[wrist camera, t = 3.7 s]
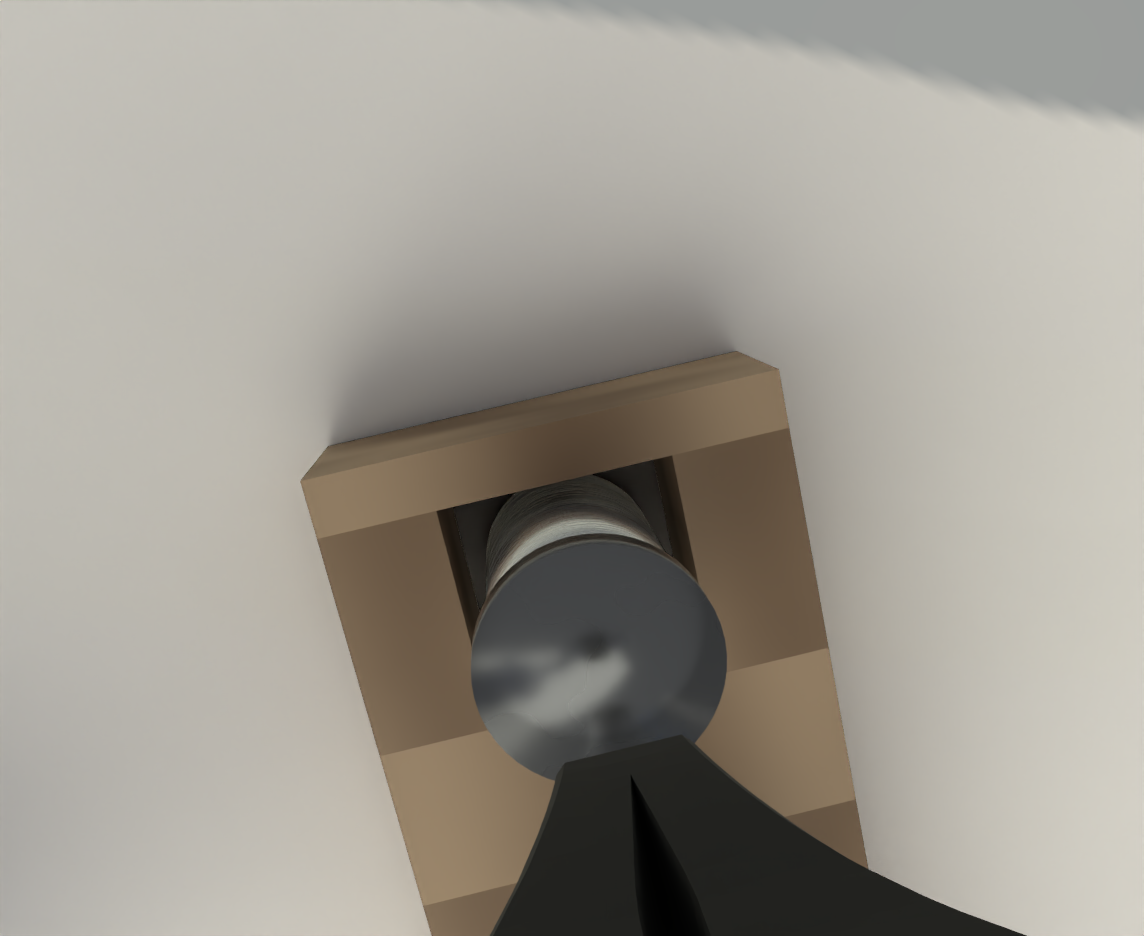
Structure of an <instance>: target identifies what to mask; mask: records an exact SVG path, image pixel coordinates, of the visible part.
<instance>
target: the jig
mask: <svg viewBox="0 0 1144 936" xmlns="http://www.w3.org/2000/svg"><path fill="white" fill-rule="evenodd" d="M650 460H653V462H654V466H655V471H656V476H657V481H658V485H659V490H660V495H661V500H662V504H663V509H664V514H665V519H666V523H667V528H668V533H669V538H670V542H671V547H672V552H673V557H674V558H675V559H676V560H677V561H678V562H680V563H681V564H682V565H683V566H684V567H685V568H686V569H687V570H688V571H689V572H690V573H691V575H692V576H693V577H694V578H695V579H696V581H697V582H698V583H699V585H700V587H701V588H702V590H703V591H704V593H705V595H706V596H707V598H708V600H709V601H710V603H711V604H712V606H713V608H714V609H715V612H716V614H717V616H718V619H719V621H720V623H721V626H722V630H723V634H724V637H725V643H726V651H727V673H726V680H725V686H724V690H723V693H722V697H721V700H720V703H719V705H718V707H717V710H716V712H715V714H714V716H713V718H712V720H711V721H710V723H709V725H708V726H707V728H706V729H705V731H704V732H703V733H702V735H701V736H700V737H699V738H698V740H697V741H696V742H695V744H696V745H697V746H698V747H699V748H700V749H701V750H702V751H703V752H704V753H705V754H706V755H707V756H709V757H710V758H711V759H712V760H713V761H714V762H715V763H716V764H717V765H719V766H720V767H721V768H722V769H723V770H724V771H726V772H727V773H728V774H729V775H730V776H732V777H733V778H734V779H735V780H736V781H738V782H739V783H740V784H741V785H742V786H744V787H745V788H746V789H748V790H749V791H750V792H751V793H753V794H754V795H755V796H757V797H758V798H759V799H761V800H762V801H763V802H765V803H766V804H767V805H769V806H770V807H772V808H773V809H774V810H776V811H777V812H778V813H780V814H781V815H783V816H784V817H785V818H787V819H788V820H789V821H791V822H792V823H794V824H795V825H797V826H798V827H800V828H801V829H803V830H804V831H806V832H807V833H809V834H810V835H811V836H813V837H814V838H816V839H818V840H819V841H821V842H822V843H824V844H826V845H827V846H829V847H831V848H832V849H834V850H835V851H837V852H839V853H840V854H842V855H844V856H845V857H847V858H848V859H850V860H852V861H854V862H856V863H858V864H859V865H861V866H863V867H865V868H867V869H868V865H867V860H866V854H865V849H864V843H863V837H862V832H861V826H860V821H859V815H858V810H857V804H856V798H855V793H854V787H853V782H852V776H851V771H850V765H849V759H848V754H847V748H846V743H845V737H844V731H843V726H842V720H841V715H840V709H839V704H838V698H837V692H836V687H835V681H834V676H833V670H832V665H831V659H830V653H829V648H828V642H827V637H826V631H825V625H824V620H823V614H822V609H821V603H820V598H819V592H818V586H817V581H816V575H815V570H814V564H813V559H812V553H811V547H810V542H809V536H808V531H807V525H806V520H805V514H804V508H803V503H802V497H801V492H800V486H799V480H798V475H797V469H796V464H795V458H794V453H793V447H792V441H791V436H790V430H789V425H788V419H787V414H786V408H785V402H784V397H783V391H782V386H781V380H780V375H779V369H777V368H774V367H772V366H770V365H767V364H765V363H763V362H760V361H758V360H756V359H754V358H751V357H749V356H747V355H744V354H742V353H740V352H737V351H735V352H731V353H727V354H722V355H718V356H714V357H709V358H705V359H701V360H696V361H692V362H688V363H684V364H679V365H675V366H671V367H666V368H662V369H658V370H654V371H649V372H645V373H641V374H636V375H632V376H628V377H624V378H619V379H615V380H611V381H606V382H602V383H598V384H594V385H589V386H585V387H581V388H576V389H572V390H568V391H564V392H559V393H555V394H551V395H546V396H542V397H538V398H534V399H529V400H525V401H521V402H516V403H512V404H508V405H503V406H499V407H495V408H491V409H486V410H482V411H478V412H473V413H469V414H465V415H461V416H456V417H452V418H448V419H443V420H439V421H435V422H431V423H426V424H422V425H418V426H413V427H409V428H405V429H401V430H396V431H392V432H388V433H383V434H379V435H375V436H371V437H366V438H362V439H358V440H353V441H349V442H345V443H341V444H336V445H332V446H328V447H327V448H326V450H325V451H324V452H323V453H322V455H321V456H320V457H319V458H318V460H317V461H316V462H315V463H314V465H313V466H312V467H311V468H310V470H309V471H308V472H307V473H306V475H305V476H304V477H303V478H302V480H301V481H300V482H301V485H302V489H303V492H304V496H305V499H306V502H307V506H308V509H309V513H310V516H311V520H312V523H313V527H314V530H315V534H316V537H317V541H318V544H319V547H320V551H321V554H322V558H323V561H324V565H325V568H326V572H327V575H328V579H329V582H330V585H331V589H332V592H333V596H334V599H335V603H336V606H337V610H338V613H339V617H340V620H341V623H342V627H343V630H344V634H345V637H346V641H347V644H348V648H349V651H350V655H351V658H352V662H353V665H354V668H355V672H356V675H357V679H358V682H359V686H360V689H361V693H362V696H363V700H364V703H365V706H366V710H367V713H368V717H369V720H370V724H371V727H372V731H373V734H374V738H375V741H376V745H377V748H378V751H379V755H380V758H381V762H382V765H383V769H384V772H385V776H386V779H387V783H388V786H389V789H390V793H391V796H392V800H393V803H394V807H395V810H396V814H397V817H398V821H399V824H400V828H401V831H402V834H403V838H404V841H405V845H406V848H407V852H408V855H409V859H410V862H411V866H412V869H413V872H414V876H415V879H416V883H417V886H418V890H419V893H420V897H421V900H422V904H423V907H424V910H425V914H426V917H427V921H428V924H429V928H430V931H431V935H432V936H490V934H491V932H492V930H493V929H494V927H495V925H496V923H497V921H498V919H499V917H500V915H501V913H502V911H503V909H504V908H505V906H506V904H507V902H508V900H509V898H510V896H511V894H512V892H513V890H514V888H515V886H516V884H517V882H518V880H519V877H520V875H521V873H522V870H523V868H524V866H525V863H526V861H527V859H528V856H529V854H530V852H531V849H532V847H533V845H534V842H535V840H536V838H537V835H538V832H539V830H540V827H541V824H542V822H543V819H544V816H545V813H546V810H547V807H548V804H549V801H550V798H551V795H552V791H553V788H554V784H555V781H554V780H551V779H547V778H545V777H543V776H541V775H538V774H536V773H534V772H532V771H530V770H529V769H527V768H526V767H524V766H522V765H521V764H519V763H518V762H517V761H515V760H514V759H513V758H512V757H511V756H509V755H508V754H507V753H506V752H505V751H504V750H503V749H502V748H501V747H500V746H499V744H498V743H497V742H496V741H495V740H494V738H493V737H492V735H491V734H490V733H489V731H488V730H487V728H486V726H485V724H484V722H483V720H482V718H481V716H480V714H479V711H478V708H477V705H476V703H475V700H474V695H473V689H472V684H471V651H472V640H473V633H474V629H475V625H476V621H477V618H478V616H479V613H480V611H479V607H478V603H477V599H476V595H475V592H474V588H473V584H472V580H471V576H470V572H469V568H468V564H467V560H466V557H465V553H464V549H463V545H462V541H461V537H460V533H459V529H458V525H457V522H456V518H455V514H454V510H453V507H455V506H459V505H463V504H468V503H472V502H476V501H480V500H485V499H489V498H493V497H497V496H502V495H506V494H510V493H514V492H519V491H523V490H527V489H531V488H536V487H540V486H544V485H548V484H553V483H557V482H561V481H565V480H570V479H574V478H578V477H582V476H586V475H591V474H595V473H599V472H603V471H608V470H612V469H616V468H620V467H625V466H629V465H633V464H637V463H642V462H646V461H650Z"/></svg>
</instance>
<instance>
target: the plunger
mask: <svg viewBox="0 0 1144 936" xmlns="http://www.w3.org/2000/svg"><path fill="white" fill-rule="evenodd" d="M726 673H727V651H726V643H725V637H724V634H723V630H722V626H721V623H720V621H719V619H718V616H717V614H716V612H715V609H714V608H713V606H712V604H711V603H710V601H709V600H708V598H707V596H706V595H705V593H704V591H703V590H702V588H701V587H700V585H699V583H698V582H697V581H696V579H695V578H694V577H693V576H692V575H691V573H690V572H689V571H688V570H687V569H686V568H685V567H684V566H683V565H682V564H681V563H680V562H678V561H677V560H676V559H675V558H673V557H672V556H670V555H669V554H668V553H666V552H665V551H664V549H663V548H662V546H661V544H660V542H659V541H658V539H657V537H656V535H655V534H654V532H653V530H652V528H651V527H650V525H649V523H648V521H647V520H646V518H645V516H644V514H643V513H642V511H641V510H640V508H639V506H638V505H637V504H636V503H635V501H634V500H633V499H632V498H631V497H630V496H629V495H628V494H627V493H626V492H625V491H624V490H622V489H621V488H619V487H618V486H616V485H615V484H613V483H611V482H609V481H607V480H606V479H603V478H600V477H597V476H594V475H586V476H582V477H578V478H574V479H570V480H565V481H561V482H557V483H553V484H548V485H544V486H540V487H536V488H531V489H527V490H523V491H519V492H516V493H515V494H513V495H512V496H511V497H510V498H509V500H508V501H507V502H506V503H505V504H504V505H503V507H502V508H501V509H500V511H499V512H498V514H497V516H496V518H495V520H494V521H493V524H492V527H491V529H490V532H489V536H488V541H487V550H486V600H485V602H484V604H483V605H482V608H481V610H480V613H479V616H478V618H477V621H476V625H475V629H474V633H473V640H472V651H471V684H472V689H473V695H474V700H475V703H476V705H477V708H478V711H479V714H480V716H481V718H482V720H483V722H484V724H485V726H486V728H487V730H488V731H489V733H490V734H491V735H492V737H493V738H494V740H495V741H496V742H497V743H498V744H499V746H500V747H501V748H502V749H503V750H504V751H505V752H506V753H507V754H508V755H509V756H511V757H512V758H513V759H514V760H515V761H517V762H518V763H519V764H521V765H522V766H524V767H526V768H527V769H529V770H530V771H532V772H534V773H536V774H538V775H541V776H543V777H545V778H547V779H551V780H554V781H555V779H556V775H557V774H558V772H559V771H560V769H561V768H562V766H563V765H564V763H566V762H570V761H574V760H579V759H583V758H587V757H591V756H595V755H599V754H603V753H607V752H611V751H615V750H619V749H624V748H628V747H632V746H636V745H640V744H644V743H648V742H652V741H656V740H660V739H664V738H669V737H673V736H677V735H681V734H682V735H683V736H685V737H686V738H688V739H689V740H691V741H692V742H694V743H695V742H696V741H697V740H698V738H699V737H700V736H701V735H702V733H703V732H704V731H705V729H706V728H707V726H708V725H709V723H710V721H711V720H712V718H713V716H714V714H715V712H716V710H717V707H718V705H719V703H720V700H721V697H722V693H723V690H724V686H725V680H726Z"/></svg>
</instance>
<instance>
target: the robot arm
mask: <svg viewBox="0 0 1144 936" xmlns="http://www.w3.org/2000/svg"><path fill="white" fill-rule="evenodd" d="M490 936H1026V935H1023V934H1021V933H1018V932H1015V931H1012V930H1010V929H1007V928H1004V927H1001V926H999V925H996V924H993V923H990V922H988V921H985V920H982V919H979V918H977V917H974V916H971V915H969V914H966V913H963V912H960V911H958V910H956V909H953V908H951V907H948V906H946V905H944V904H941V903H939V902H936V901H934V900H932V899H929V898H927V897H925V896H923V895H921V894H918V893H916V892H914V891H912V890H910V889H908V888H906V887H904V886H902V885H900V884H898V883H896V882H893V881H891V880H889V879H887V878H885V877H883V876H881V875H879V874H877V873H875V872H873V871H871V870H869V869H867V868H865V867H863V866H861V865H859V864H858V863H856V862H854V861H852V860H850V859H848V858H847V857H845V856H844V855H842V854H840V853H839V852H837V851H835V850H834V849H832V848H831V847H829V846H827V845H826V844H824V843H822V842H821V841H819V840H818V839H816V838H814V837H813V836H811V835H810V834H809V833H807V832H806V831H804V830H803V829H801V828H800V827H798V826H797V825H795V824H794V823H792V822H791V821H789V820H788V819H787V818H785V817H784V816H783V815H781V814H780V813H778V812H777V811H776V810H774V809H773V808H772V807H770V806H769V805H767V804H766V803H765V802H763V801H762V800H761V799H759V798H758V797H757V796H755V795H754V794H753V793H751V792H750V791H749V790H748V789H746V788H745V787H744V786H742V785H741V784H740V783H739V782H738V781H736V780H735V779H734V778H733V777H732V776H730V775H729V774H728V773H727V772H726V771H724V770H723V769H722V768H721V767H720V766H719V765H717V764H716V763H715V762H714V761H713V760H712V759H711V758H710V757H709V756H707V755H706V754H705V753H704V752H703V751H702V750H701V749H700V748H699V747H698V746H697V745H696V744H695V743H694V742H692V741H691V740H689V739H688V738H686V737H685V736H683V735H682V734H681V735H677V736H673V737H669V738H664V739H660V740H656V741H652V742H648V743H644V744H640V745H636V746H632V747H628V748H624V749H619V750H615V751H611V752H607V753H603V754H599V755H595V756H591V757H587V758H583V759H579V760H574V761H570V762H566V763H564V765H563V766H562V768H561V769H560V771H559V772H558V774H557V775H556V779H555V784H554V788H553V791H552V795H551V798H550V801H549V804H548V807H547V810H546V813H545V816H544V819H543V822H542V824H541V827H540V830H539V832H538V835H537V838H536V840H535V842H534V845H533V847H532V849H531V852H530V854H529V856H528V859H527V861H526V863H525V866H524V868H523V870H522V873H521V875H520V877H519V880H518V882H517V884H516V886H515V888H514V890H513V892H512V894H511V896H510V898H509V900H508V902H507V904H506V906H505V908H504V909H503V911H502V913H501V915H500V917H499V919H498V921H497V923H496V925H495V927H494V929H493V930H492V932H491V934H490Z"/></svg>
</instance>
